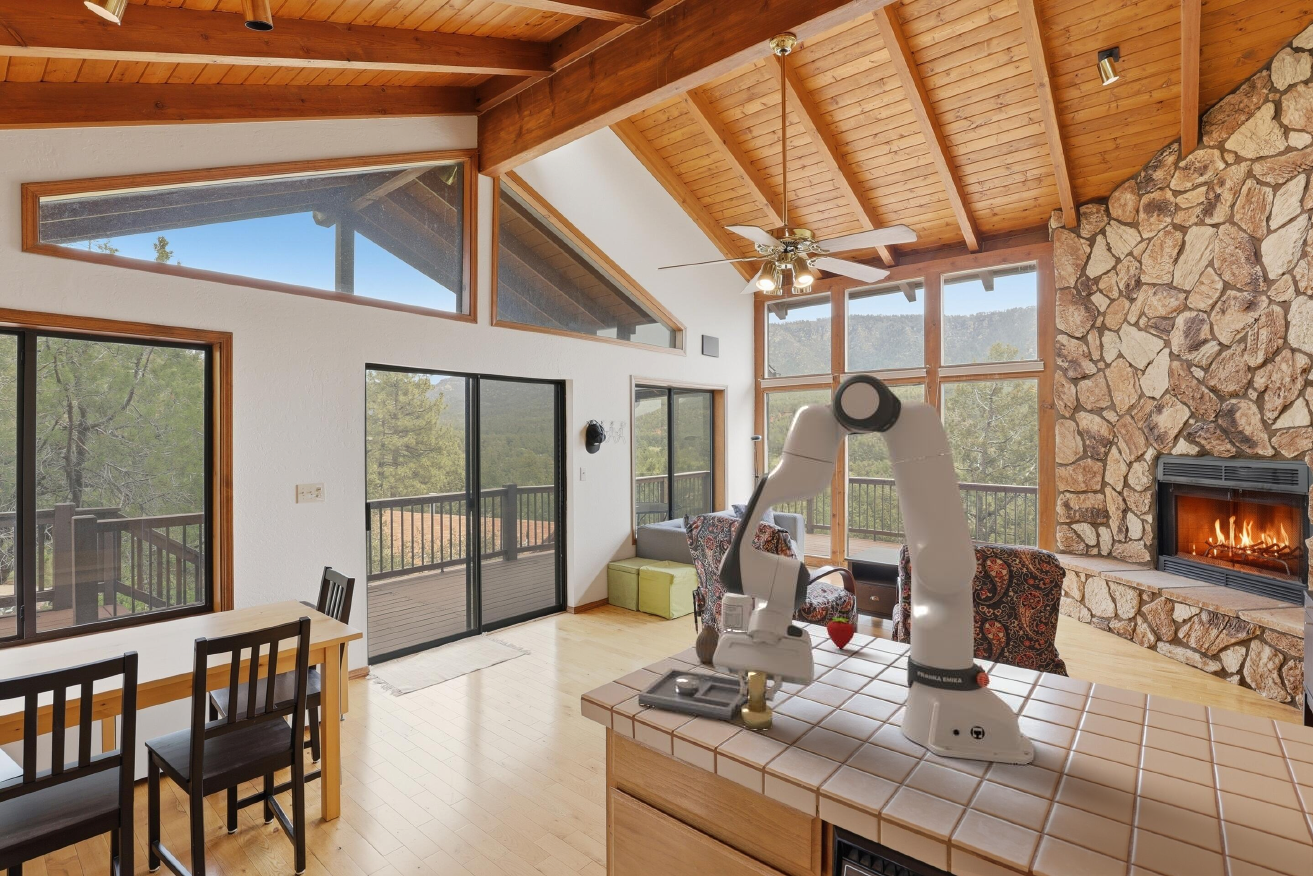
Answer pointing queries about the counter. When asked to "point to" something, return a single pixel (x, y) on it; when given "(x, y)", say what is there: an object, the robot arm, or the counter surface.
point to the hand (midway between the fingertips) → (756, 697)
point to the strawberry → (840, 631)
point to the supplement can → (736, 612)
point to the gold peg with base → (756, 703)
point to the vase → (707, 644)
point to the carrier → (695, 694)
